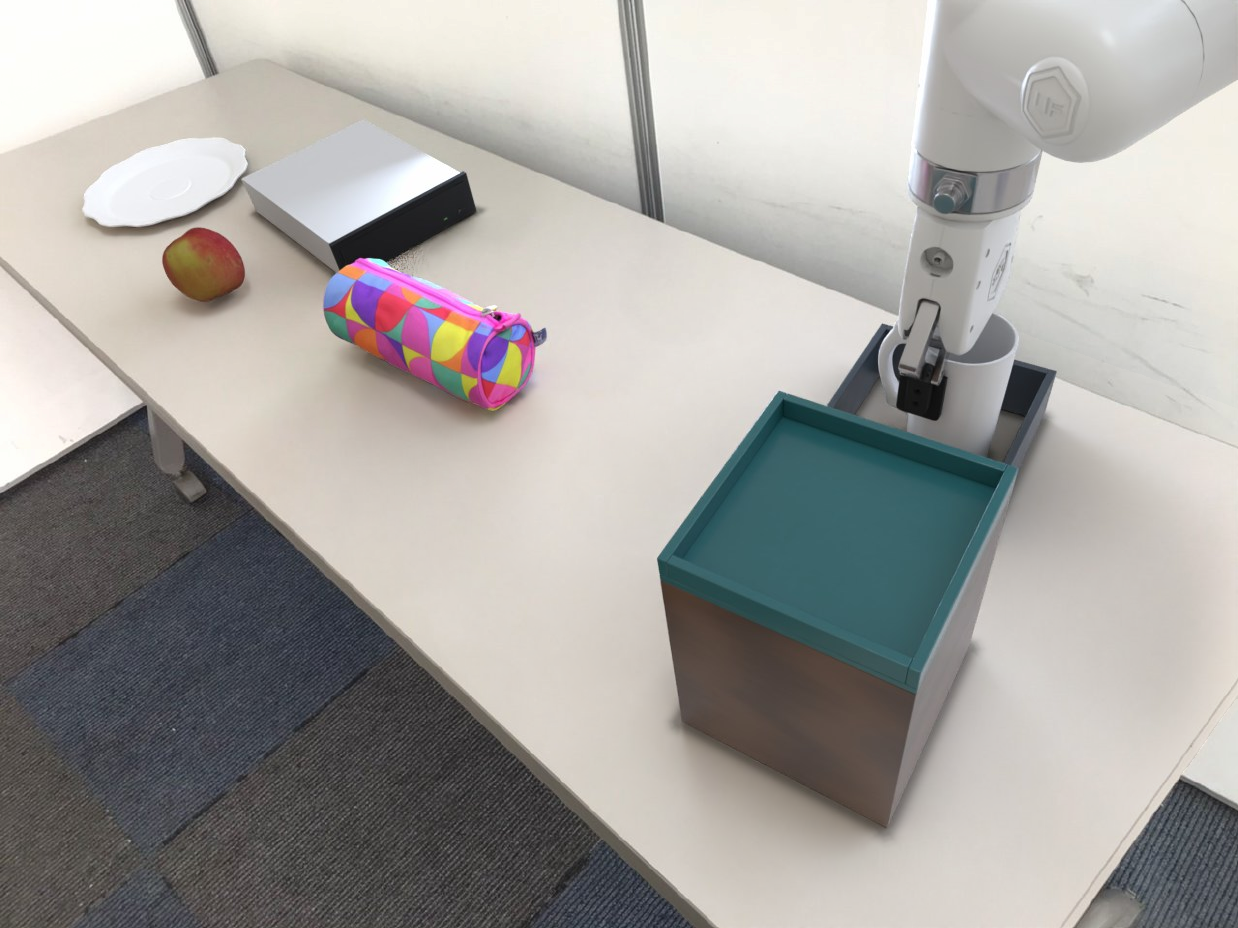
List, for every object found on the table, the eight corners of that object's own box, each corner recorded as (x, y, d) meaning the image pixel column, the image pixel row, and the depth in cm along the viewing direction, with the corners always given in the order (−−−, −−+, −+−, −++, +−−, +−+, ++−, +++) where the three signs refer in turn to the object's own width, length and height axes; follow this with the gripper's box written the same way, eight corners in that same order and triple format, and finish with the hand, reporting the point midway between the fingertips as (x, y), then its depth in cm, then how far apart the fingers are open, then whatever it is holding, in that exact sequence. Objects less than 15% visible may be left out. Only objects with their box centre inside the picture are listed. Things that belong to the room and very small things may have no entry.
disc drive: (347, 284, 102) (331, 246, 98) (255, 213, 115) (238, 177, 111) (477, 212, 109) (467, 173, 105) (376, 152, 121) (364, 116, 118)
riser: (969, 646, 64) (1012, 491, 52) (887, 828, 56) (916, 695, 44) (778, 567, 70) (778, 413, 58) (681, 721, 62) (659, 580, 51)
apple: (243, 265, 107) (212, 203, 101) (263, 299, 102) (232, 236, 96) (177, 292, 105) (142, 231, 99) (195, 328, 100) (159, 265, 94)
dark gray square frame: (1043, 416, 77) (1057, 370, 73) (985, 539, 69) (997, 494, 66) (877, 367, 83) (881, 323, 79) (807, 474, 76) (809, 431, 72)
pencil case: (561, 368, 88) (544, 290, 82) (499, 431, 83) (475, 354, 77) (396, 306, 98) (368, 232, 92) (331, 359, 93) (298, 285, 87)
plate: (60, 208, 122) (53, 196, 121) (196, 135, 131) (191, 123, 130) (141, 255, 111) (134, 243, 110) (283, 172, 121) (278, 160, 120)
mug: (1006, 447, 75) (1037, 327, 66) (962, 497, 72) (988, 378, 63) (894, 397, 80) (910, 280, 72) (849, 441, 77) (860, 325, 69)
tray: (1012, 491, 52) (1019, 467, 50) (916, 695, 44) (920, 673, 43) (778, 413, 58) (778, 389, 57) (659, 580, 51) (656, 557, 49)
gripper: (986, 259, 52) (944, 474, 65) (1076, 112, 61) (1023, 327, 74) (857, 229, 55) (842, 440, 68) (961, 94, 64) (929, 303, 77)
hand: (936, 379), depth 71 cm, fingers closed on mug, 6 cm apart
